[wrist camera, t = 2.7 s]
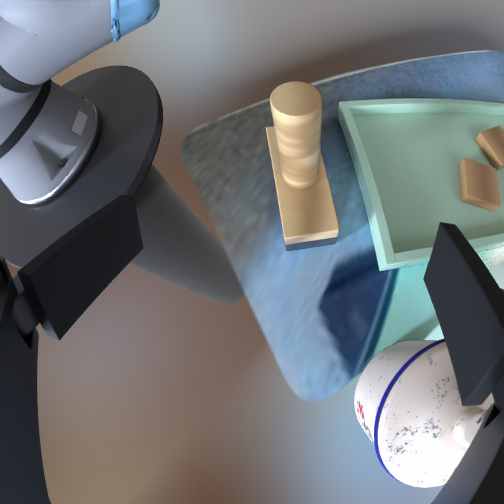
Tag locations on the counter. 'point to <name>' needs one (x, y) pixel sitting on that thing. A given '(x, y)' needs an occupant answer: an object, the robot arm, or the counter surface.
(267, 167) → the counter surface
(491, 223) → the tray
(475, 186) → the cork piece
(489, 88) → the counter surface
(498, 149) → the cork piece
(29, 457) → the robot arm
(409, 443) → the teacup with lid
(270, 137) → the brush
